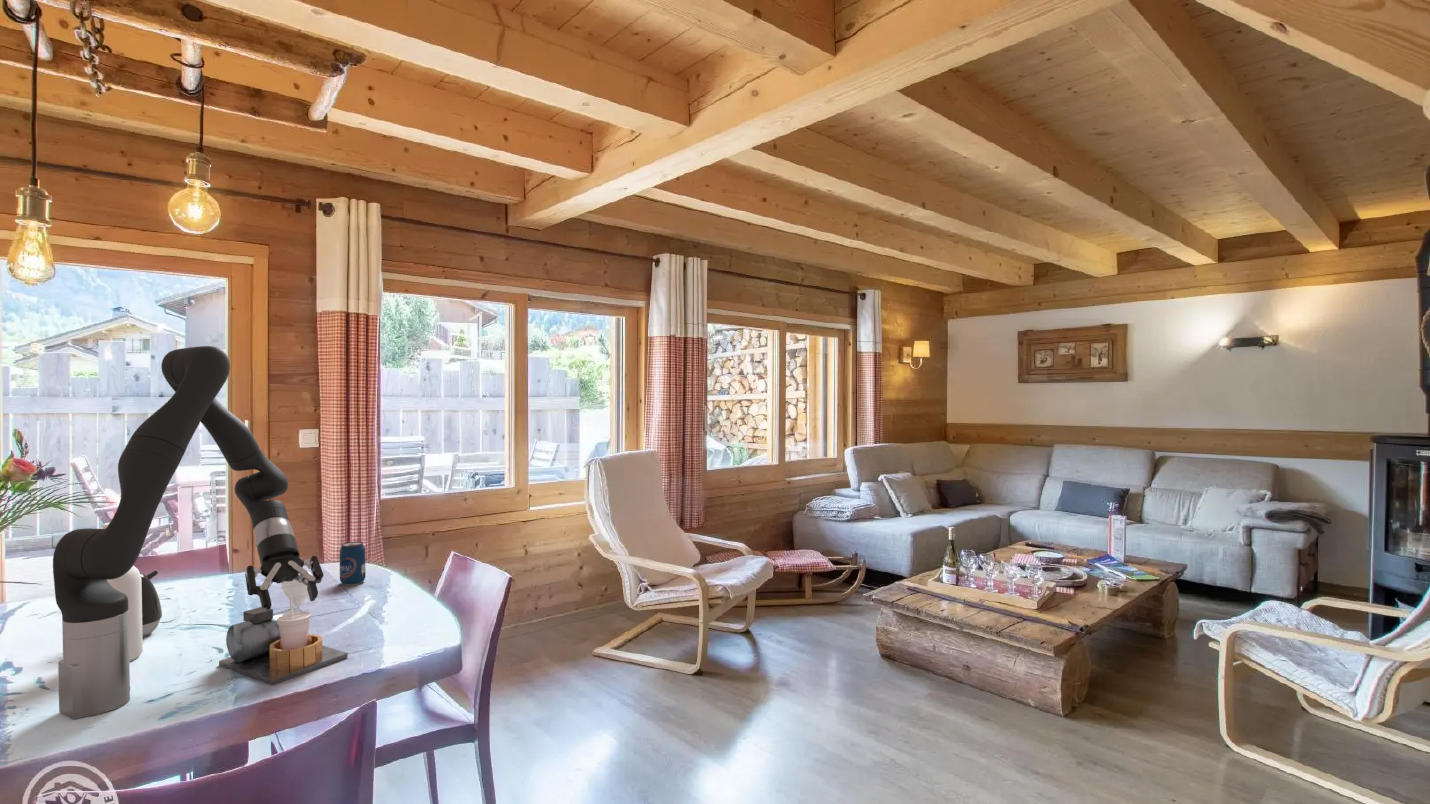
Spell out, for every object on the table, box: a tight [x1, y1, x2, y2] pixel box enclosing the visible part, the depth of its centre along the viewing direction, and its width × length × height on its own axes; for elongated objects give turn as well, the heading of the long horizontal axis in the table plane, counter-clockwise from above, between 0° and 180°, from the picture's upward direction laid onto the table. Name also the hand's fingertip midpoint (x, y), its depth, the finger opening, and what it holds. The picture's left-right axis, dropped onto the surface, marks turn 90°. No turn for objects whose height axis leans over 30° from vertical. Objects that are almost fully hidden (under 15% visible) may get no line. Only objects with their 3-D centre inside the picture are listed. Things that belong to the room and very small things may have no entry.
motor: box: [218, 606, 349, 686], centre depth 151 cm, size 16×20×11 cm
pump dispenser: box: [140, 570, 163, 638], centre depth 166 cm, size 10×10×15 cm
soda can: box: [339, 541, 366, 586], centre depth 211 cm, size 7×7×12 cm
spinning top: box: [280, 570, 313, 609], centre depth 186 cm, size 8×8×12 cm
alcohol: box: [101, 522, 144, 663], centre depth 152 cm, size 9×9×30 cm
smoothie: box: [277, 596, 312, 649], centre depth 149 cm, size 6×6×14 cm
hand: (291, 603), depth 151 cm, fingers open, 8 cm apart
